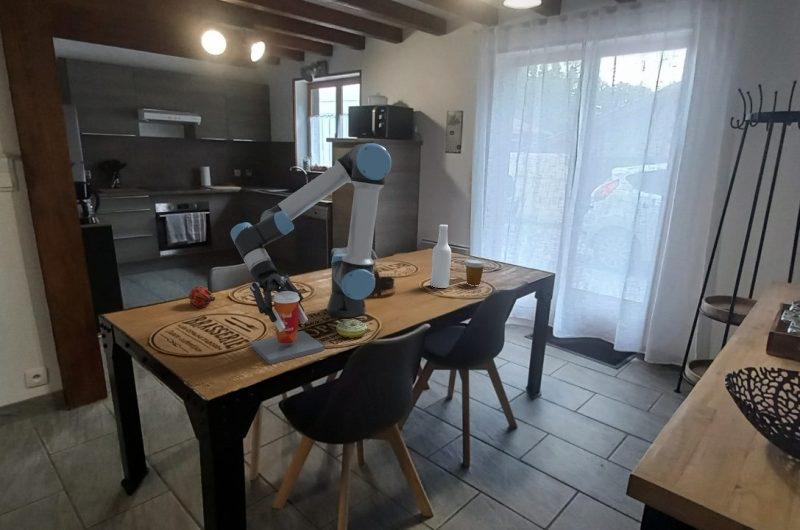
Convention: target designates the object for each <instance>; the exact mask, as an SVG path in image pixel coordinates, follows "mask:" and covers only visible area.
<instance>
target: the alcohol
mask: <svg viewBox="0 0 800 530" xmlns="http://www.w3.org/2000/svg"><path fill="white" fill-rule="evenodd" d="M438 226H439V227H438V229H439V231H438V236H437V243H436V245H434V246H433V249H432V257H431V274H430V276H431V277H430V286H431V287H432V286H433V287H438V288H446V287H448V286H450V276H451V263H452V248H451V247H450V246H449V243H448V237H449V236H448V229H449V228H448V226H449V225H448V224H439V225H438ZM433 287H432V288H433ZM448 288H449V287H448ZM446 289H447V288H446Z"/></svg>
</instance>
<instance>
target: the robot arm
mask: <svg viewBox="0 0 800 530" xmlns="http://www.w3.org/2000/svg"><path fill="white" fill-rule="evenodd" d="M391 168H392V157H391V155H390V153H389V151H388V150H387V149H386V147H384V146H382V145H380V144H378V143H374V142H373V143H372V142H367V143H364V142H363V143H358V144H357V145H354V146H353V147H352V148H350V149H349V150H348V151H346V153H344V154H343V155H341V156H340V157H339V158H338V159H336V160H335V161H334V165H333V166H331V167H330V168H328V169H327V170H325V171H324V172H323V173H321V174H320V175H318V176H316V177H315V178H314V179H312V180H311V181H309V182H308V183H306V184H305V185H303V186H302V187H301V188H299V189H298V190H296V191H294V192H293V193H292V194H290V195H289V196H288V197H286V198H285V199H283V200H282V201H280V202H279V203H277V204H276V205H274V206H273V207H272V208H269V209H266V210H265V211H262V214H261V216H260V221H259V222H258V223H255V224H253V225H252V224H251V223H250V222H242V223H238V224H236V225H235V226H234V227H232V228H231V231H230V237H231V239H232V241H233V244H234V245H235V247H236V249H237V251H238V252H239V254H240V256H241V258H242V260H243V261H244V263H245V265H246V267H247V269H248V271H250V274H251V276H252V278H253V280H254V282H252V284H250V286H249V290H250V291H251V292H252V294H253V297H254V299H255V304H256V306H257V309H258V312H259V314H261V315H265V316H268V317H269V320H270V322H271V323H273V324H274V325H275V328H276V327H277V329H278V330H279V332H282V330H283V329H284V328H285V326H284V324H283V322H282V320H281V318H280V317H279V315H278V313H277V311H276V309H273V298H272V292H276V293H279V292H283V291H292V292H296V293H298V295H299V297H300V300H299V308H298V321H300V323H301V325H304V324H306V323H307V322H308V320H309V319H308V317H307V315H306V314H305V308H304V307H303V305H302V303H301V302H302V301H303V300H304V296H303V295H302V294H301V292H300V291H299V290H298V289H297V288H296V286H295V284H293V282H292V281H291V279H290V277H289V275H288V274H285V275H284V276H281V275H279V274H278V272H277V268H276V266H275V265H274V262H273V261H272V258H271V257H270V256H269V253H268V251H267V250H266V248H265V247H264V246H266V245H269V244H270V243H273V242H274V241H276V240H278V239H280V238H282V237H284V236H285V235H288V234H289V233H290V232H292V231H294V229H295V225H294V224H293V222H292V221H293V220H295V219H296V218H298V217H299V216H300V215H302V214H303V213H305V212H307V210H309V209H311V208H312V207H314V206H315V205H316V204H318V203H319V202H321V201H323V199H325V198H327V197H328V196H329V195H331V194H332V193H333V192H335V191H336V190H338V189H340V188H341V187H342V186H344V185H345V184H347V183H348V184H352V185H353V187H354V191H353V200H352V207H351V214H350V215H351V216H350V223H349V233H348V240H347V247H346V248H347V249H346V253H340V254H339V253H338V254H333V256H332V258H331V262H330V263H331V293H330V297H329V299H328V302H327V307H326V312H327V314H328V315H330V316H333V317H338V318H355V317H354V316H356V317H359V316H358V315H360V316H362V315H364V314H365V313H366V304H365V303H366V302H365V300H364V299H366V298H367V297H369V296H370V295H371V294H372V292H374V289H375V287H376V279H375V276H374V275H373V273H374V267H375V261H374V260H373V259H372V251H373V250H372V249H373V242H374V241H373V240H374V235H375V234H374V233H375V227H376V219H377V213H378V204H379V203H378V202H379V196H380V190H381V189H382V188H384V187H385V185H386V184H385V183H386V177H387V175H389V172H390V171H391ZM261 289H262V291H261ZM363 313H364V314H363ZM361 314H362V315H361Z"/></svg>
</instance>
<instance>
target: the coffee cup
mask: <svg viewBox="0 0 800 530" xmlns="http://www.w3.org/2000/svg"><path fill="white" fill-rule="evenodd" d="M299 300H300V297H299V295H298V293H296V292H292V291H283V292H279V293H278V292H276V293H274V295H273V298H272V302H273V306H274V309H276V311H277V313H278V315H279V317H280V318H281V320H282V322H283V324H284V326H285V328H284V329H283V330H282V332H279V330H278V329H277V327H276V326H275V329H276V330H275V331H276V337H277V340H278V342H280V343H284V344H288V343H293V342H295V341H296V340H297V332H298V325H299V318H298V308H299ZM274 309H273V310H274Z"/></svg>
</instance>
